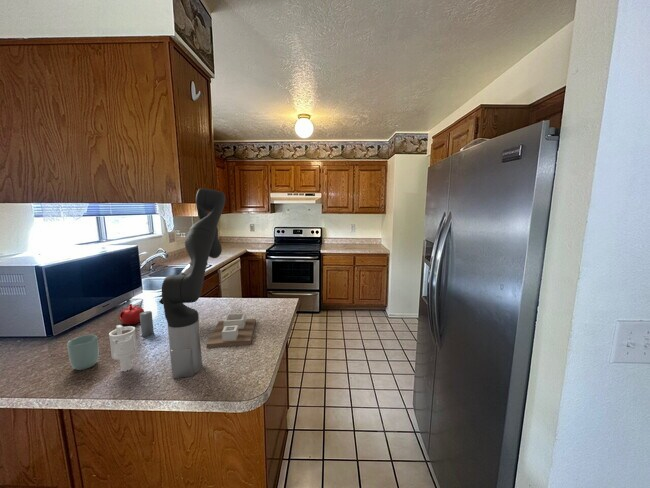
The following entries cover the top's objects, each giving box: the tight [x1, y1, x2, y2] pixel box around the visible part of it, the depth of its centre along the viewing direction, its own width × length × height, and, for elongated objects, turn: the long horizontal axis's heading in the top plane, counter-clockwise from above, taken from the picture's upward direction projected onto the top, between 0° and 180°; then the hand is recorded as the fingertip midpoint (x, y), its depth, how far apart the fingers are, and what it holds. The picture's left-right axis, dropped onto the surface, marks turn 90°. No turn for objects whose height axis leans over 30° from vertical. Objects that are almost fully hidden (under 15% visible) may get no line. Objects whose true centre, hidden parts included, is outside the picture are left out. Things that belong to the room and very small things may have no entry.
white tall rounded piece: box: [108, 324, 138, 372], centre depth 91 cm, size 7×7×15 cm
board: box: [205, 318, 257, 349], centre depth 117 cm, size 22×17×2 cm
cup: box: [66, 333, 100, 371], centre depth 93 cm, size 8×8×10 cm
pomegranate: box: [118, 303, 145, 326], centre depth 129 cm, size 10×10×9 cm
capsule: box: [139, 310, 155, 338], centre depth 116 cm, size 4×4×10 cm
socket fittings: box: [222, 312, 247, 341], centre depth 117 cm, size 19×8×4 cm, turn 9°
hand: (164, 305), depth 120 cm, fingers open, 8 cm apart
